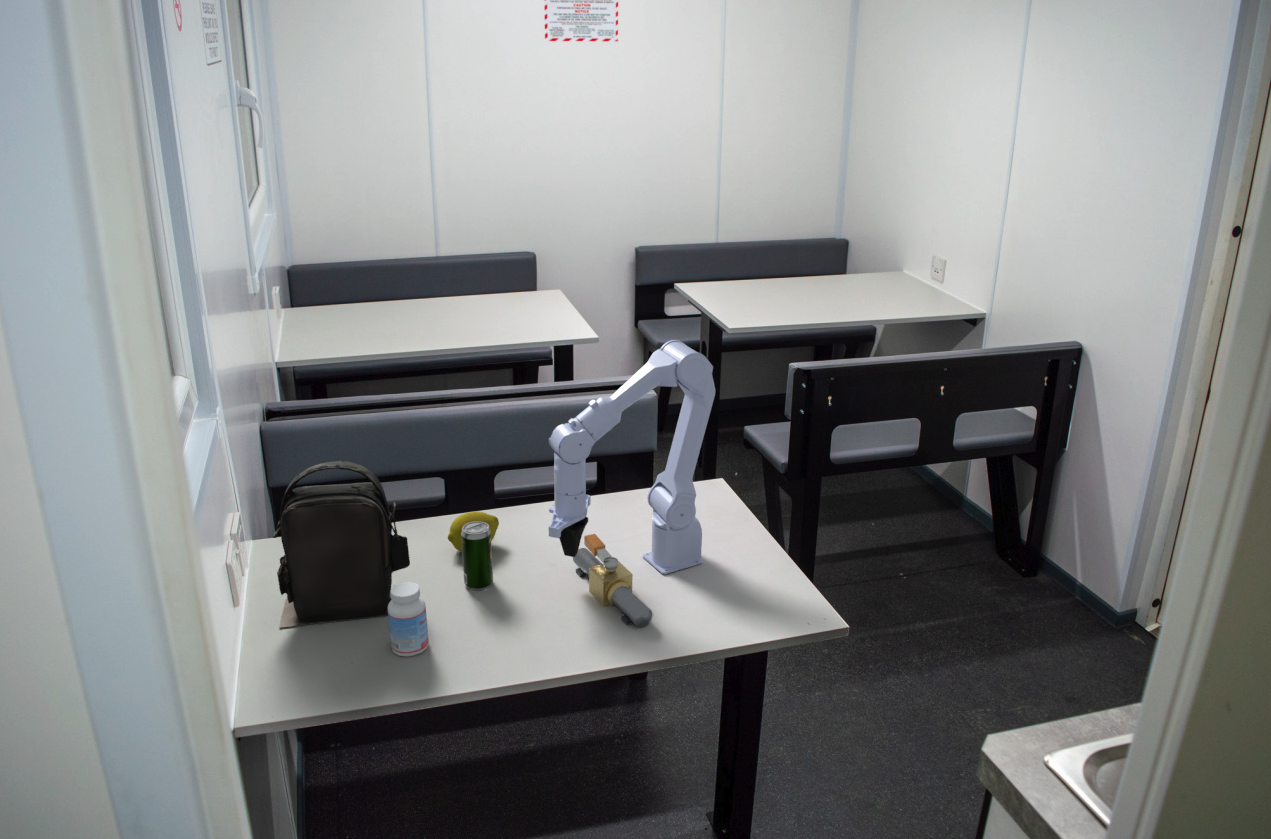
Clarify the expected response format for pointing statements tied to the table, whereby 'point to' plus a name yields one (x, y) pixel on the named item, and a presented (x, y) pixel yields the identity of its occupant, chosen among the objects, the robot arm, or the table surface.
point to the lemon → (467, 518)
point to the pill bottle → (407, 620)
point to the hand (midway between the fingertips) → (570, 554)
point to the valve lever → (601, 552)
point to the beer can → (477, 556)
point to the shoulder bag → (337, 549)
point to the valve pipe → (612, 588)
